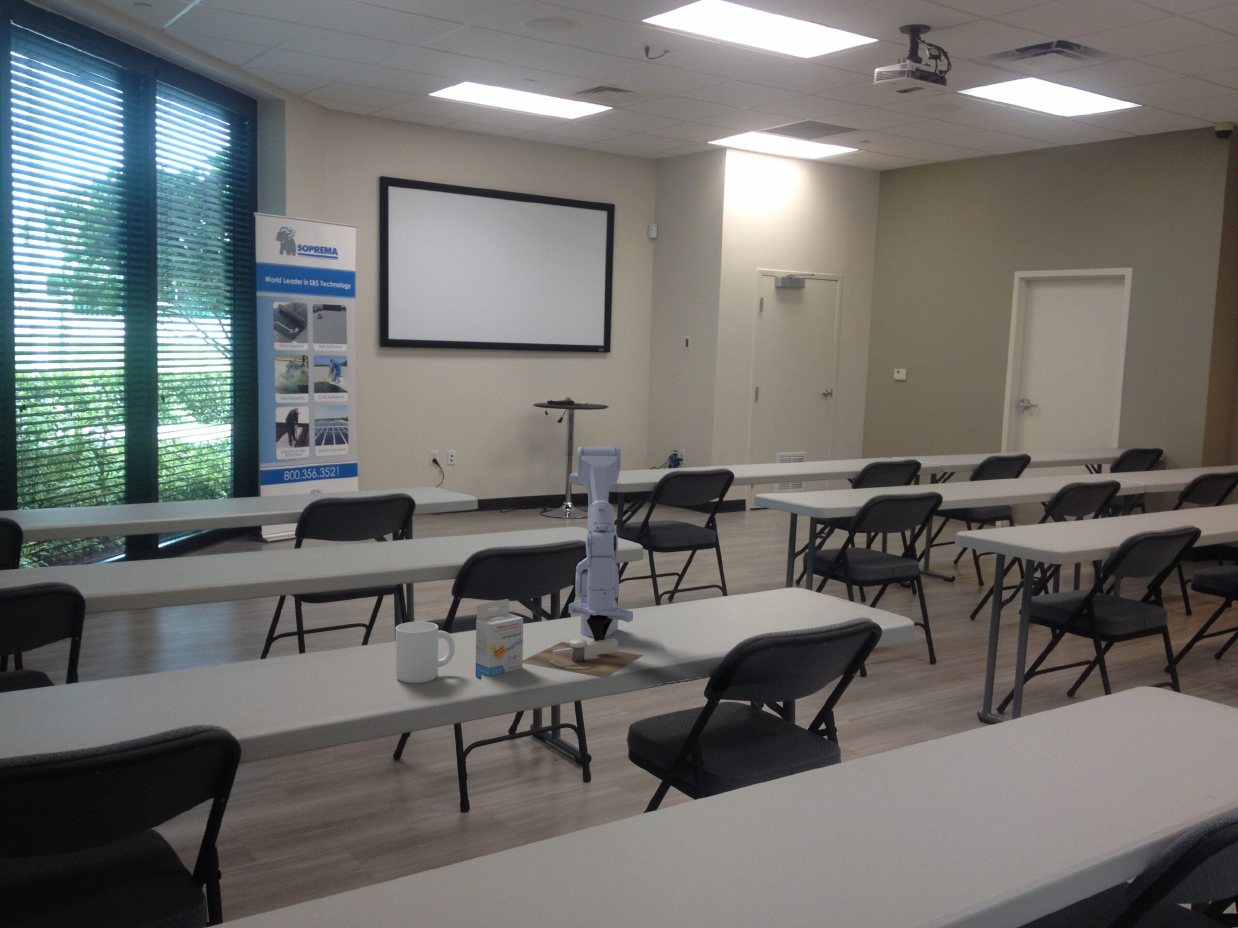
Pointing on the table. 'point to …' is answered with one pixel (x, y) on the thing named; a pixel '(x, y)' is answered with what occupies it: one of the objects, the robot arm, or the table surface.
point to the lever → (589, 648)
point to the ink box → (498, 639)
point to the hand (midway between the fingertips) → (599, 649)
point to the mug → (420, 651)
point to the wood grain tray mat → (590, 666)
